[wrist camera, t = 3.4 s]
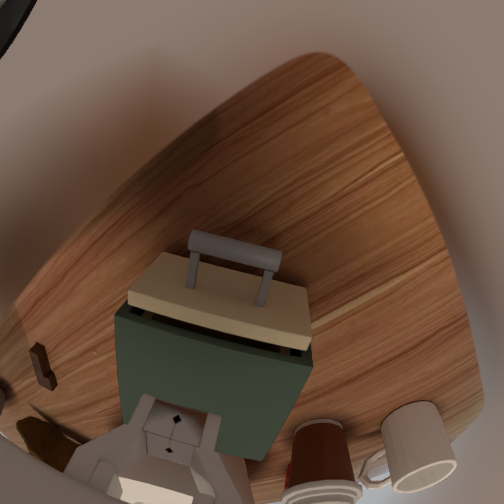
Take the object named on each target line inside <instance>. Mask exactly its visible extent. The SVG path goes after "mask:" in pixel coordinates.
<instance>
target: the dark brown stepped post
mask: <svg viewBox="0 0 504 504" xmlns="http://www.w3.org/2000/svg"><path fill="white" fill-rule="evenodd" d="M29 352H30V356H31V359H32V362H33V366H34V369H35V373H36V376H37V379H38V382H39V384H40V385H41V386H43V387H45V388H47V389H49V390H51V391H53V390H54V389H55V388H56V386H57V382H56V379H55V375H54V372H52V371H51V370H50V367H49V363H48V359H47V355H46V351H45V347H44V346H42V345H40V344H38V343H36V344H35V345H34V346H33V347H32V348H31V349H30V350H29Z"/></svg>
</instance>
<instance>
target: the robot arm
mask: <svg viewBox="0 0 504 504" xmlns="http://www.w3.org/2000/svg"><path fill="white" fill-rule="evenodd" d="M6 1H7V0H0V8H1V6H2V5H3V4H4V3H5V2H6ZM207 414H208V415H207ZM220 423H221V416H220V415H216V414H212V413H208V412H205V411H201V410H197V409H193V408H190V407H186V406H181V405H178V404H175V403H171V402H168V401H165V400H162V399H159V398H157V397H154V396H151V395H148V394H145V393H144V394H143V395H142V397H141V399H140V401H139V403H138V405H137V407H136V409H135V411H134V413H133V415H132V417H131V419H130V421H129V423H128V425H127V424H123V425H121V426H119V427H117V428H115V429H113V430H111V431H109V432H107V433H105V434H103V435H101V436H99V437H97V438H95V439H93V440H91V441H89V442H87V443H85V444H83V445H81V446H79V447H77V448H76V450H75V452H74V454H73V456H72V457H71V459H70V461H69V463H68V465H67V467H66V468H65V470H64V472H63V473H61V472H60V471H58V470H56V469H54V468H52V467H51V466H49V465H47V464H45V463H44V462H42V461H40V460H39V459H37V458H35V457H34V456H32V455H30V454H29V453H27V452H26V451H24V450H23V449H21V448H20V447H18V446H17V445H15V444H14V443H12V442H11V441H9V440H8V439H7V438H5V437H4V436H2V435H1V434H0V504H130V503H128V502H125V501H122V500H120V498H121V495H122V493H123V490H122V487H121V484H120V480H119V477H118V475H120V474H121V473H123V472H124V471H126V470H127V469H128V468H130V467H131V466H133V465H134V464H136V463H137V462H139V461H140V460H141V459H143V458H144V457H146V456H147V454H148V455H151V456H154V457H158V458H161V459H165V460H168V461H171V462H174V463H178V464H181V465H184V466H187V467H190V470H191V472H192V475H193V478H194V480H195V483H196V486H197V488H198V491H199V492H198V493H196V494H194V497H193V501H192V504H242V502H243V500H242V498H241V497H240V495H239V493H238V491H237V489H236V487H235V485H234V483H233V481H232V480H231V478H230V476H229V474H228V472H227V470H226V468H225V466H224V464H223V462H222V459H221V457H220V455H219V453H218V452H215V451H214V450H215V445H216V441H217V436H218V432H219V427H220Z"/></svg>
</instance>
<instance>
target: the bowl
mask: <svg viewBox="0 0 504 504" xmlns="http://www.w3.org/2000/svg"><path fill="white" fill-rule="evenodd" d="M219 455H220V457H221V459H222V462H223V464H224V466H225V468H226V470H227V472H228V474H229V476H230V478H231V480H232V481H233V483H234V485H235V487H236V489H237V491H238V493H239V495H240V497H241V498H242V500H243V502H242V504H255V503H254V499H253V495H252V491H251V487H250V482H249V478H248V473H247V469H246V465H245V460H244V458H241V457H236V456H231V455H226V454H221V453H219ZM118 477H119V480H120V484H121V487H122V490H123V493H122V495H121V498H120V500H122V501H125V502H128V503H130V504H192V501H193V497H194V494H196V493H198V492H199V491H198V488H197V486H196V483H195V480H194V478H193V475H192V472H191V470H190V467H187V466H184V465H181V464H178V463H174V462H171V461H168V460H165V459H161V458H158V457H154V456H151V455H148V454H147V456H146V457H144V458H143V459H141V460H140V461H139V462H137V463H136V464H134V465H133V466H131V467H130V468H128V469H127V470H126V471H124V472H123V473H121V474H120V475H118Z"/></svg>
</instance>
